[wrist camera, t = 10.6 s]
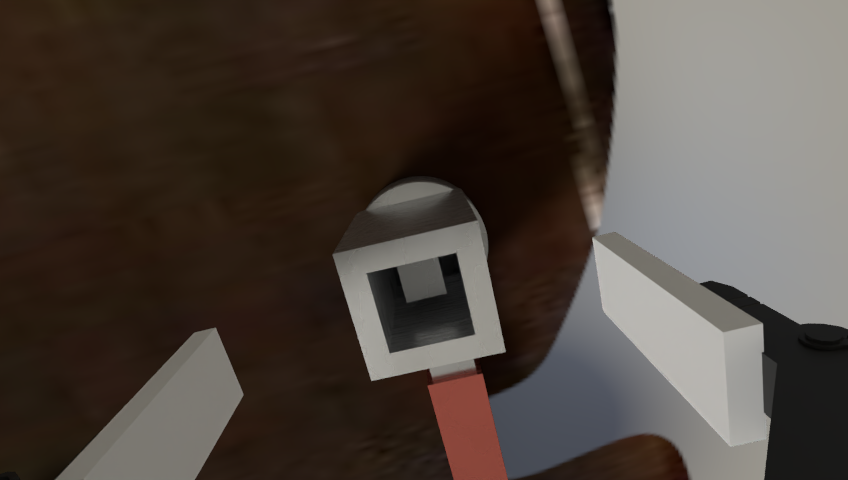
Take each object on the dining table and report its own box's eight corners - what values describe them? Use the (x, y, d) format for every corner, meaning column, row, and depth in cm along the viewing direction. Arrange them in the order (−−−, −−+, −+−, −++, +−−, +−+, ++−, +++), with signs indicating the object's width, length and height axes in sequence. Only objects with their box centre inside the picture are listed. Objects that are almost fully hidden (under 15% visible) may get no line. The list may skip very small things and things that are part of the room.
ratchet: (345, 192, 26) (319, 221, 19) (467, 162, 25) (484, 181, 19) (431, 484, 31) (434, 583, 24) (532, 462, 31) (563, 558, 24)
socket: (357, 212, 23) (332, 254, 17) (460, 188, 23) (478, 220, 16) (384, 307, 25) (371, 381, 18) (482, 285, 25) (505, 351, 18)
